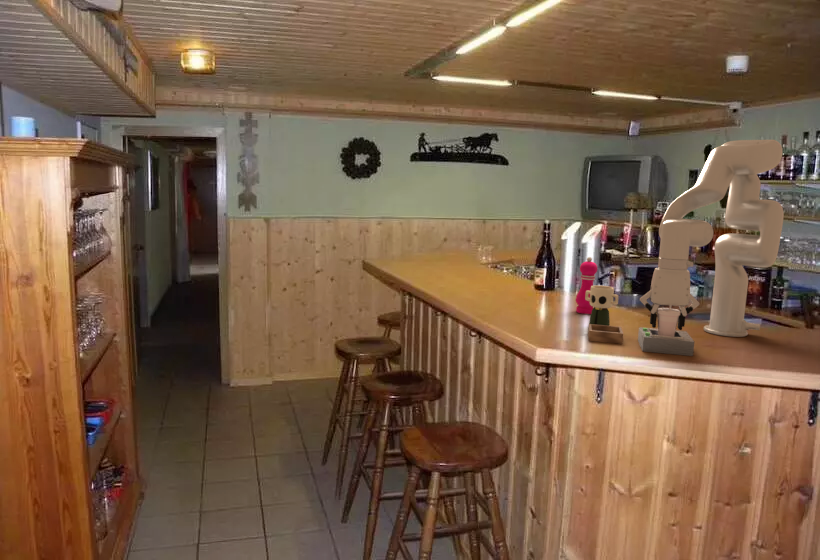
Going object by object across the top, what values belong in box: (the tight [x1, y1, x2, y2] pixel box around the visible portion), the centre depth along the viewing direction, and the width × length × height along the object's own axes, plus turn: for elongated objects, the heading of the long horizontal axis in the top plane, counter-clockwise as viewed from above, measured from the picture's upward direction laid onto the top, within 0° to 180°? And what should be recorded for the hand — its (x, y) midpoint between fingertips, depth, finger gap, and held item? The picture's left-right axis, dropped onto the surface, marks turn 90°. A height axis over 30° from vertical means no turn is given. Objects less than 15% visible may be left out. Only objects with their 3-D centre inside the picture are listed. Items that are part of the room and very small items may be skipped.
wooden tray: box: [587, 323, 624, 345], centre depth 187 cm, size 9×9×3 cm
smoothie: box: [656, 306, 681, 337], centre depth 178 cm, size 6×6×14 cm
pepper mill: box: [575, 256, 598, 315], centre depth 225 cm, size 7×7×20 cm
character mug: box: [585, 284, 619, 326], centre depth 202 cm, size 11×7×13 cm, turn 50°
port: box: [637, 326, 695, 357], centre depth 179 cm, size 13×13×5 cm
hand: (666, 327), depth 178 cm, fingers closed on smoothie, 6 cm apart
